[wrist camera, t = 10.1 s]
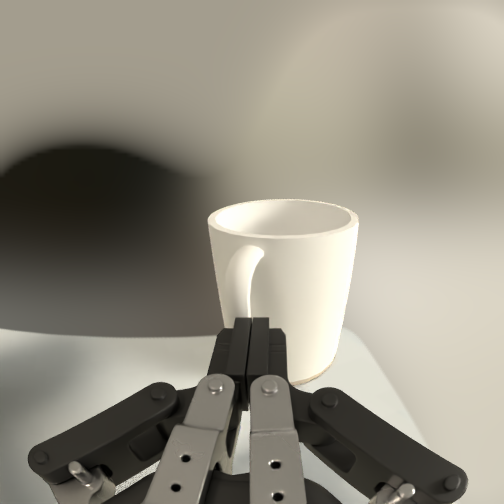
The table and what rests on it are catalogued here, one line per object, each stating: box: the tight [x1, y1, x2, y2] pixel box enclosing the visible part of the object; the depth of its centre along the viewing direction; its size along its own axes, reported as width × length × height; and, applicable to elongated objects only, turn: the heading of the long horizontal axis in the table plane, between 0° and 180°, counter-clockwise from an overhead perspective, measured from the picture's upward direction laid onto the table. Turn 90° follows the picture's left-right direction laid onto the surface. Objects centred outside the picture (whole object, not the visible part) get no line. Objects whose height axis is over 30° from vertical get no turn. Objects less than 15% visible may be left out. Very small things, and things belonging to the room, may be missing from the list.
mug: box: [208, 199, 359, 386], centre depth 18 cm, size 11×9×10 cm
